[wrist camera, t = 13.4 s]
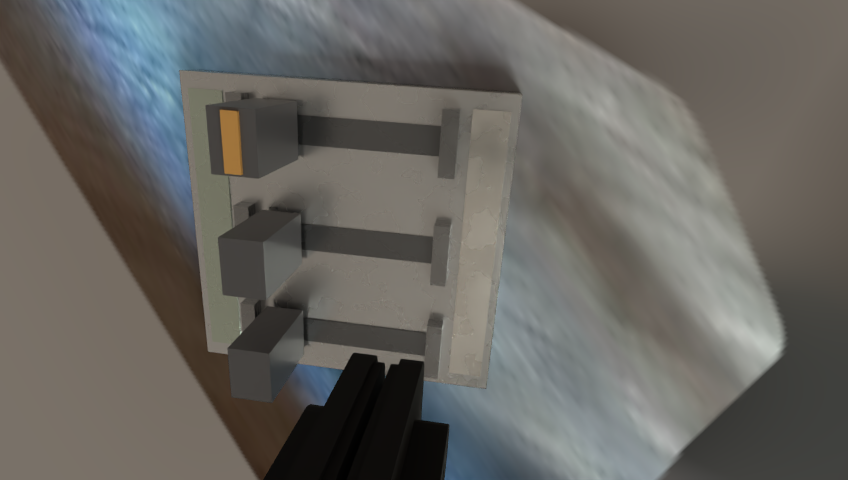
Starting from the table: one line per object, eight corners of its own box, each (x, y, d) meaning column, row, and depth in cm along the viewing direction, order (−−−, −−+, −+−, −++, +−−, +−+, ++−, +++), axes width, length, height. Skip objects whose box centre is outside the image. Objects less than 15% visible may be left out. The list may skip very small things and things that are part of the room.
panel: (486, 372, 37) (485, 397, 34) (221, 337, 39) (200, 358, 36) (520, 92, 30) (523, 95, 27) (197, 69, 32) (169, 70, 30)
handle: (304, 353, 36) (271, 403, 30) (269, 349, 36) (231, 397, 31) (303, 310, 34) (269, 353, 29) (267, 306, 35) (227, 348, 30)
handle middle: (301, 263, 33) (266, 300, 28) (264, 259, 33) (222, 295, 28) (300, 213, 32) (263, 242, 27) (262, 209, 32) (217, 237, 27)
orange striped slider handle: (298, 159, 31) (257, 179, 25) (258, 155, 31) (209, 175, 26) (296, 101, 30) (253, 109, 24) (255, 97, 30) (202, 105, 25)
